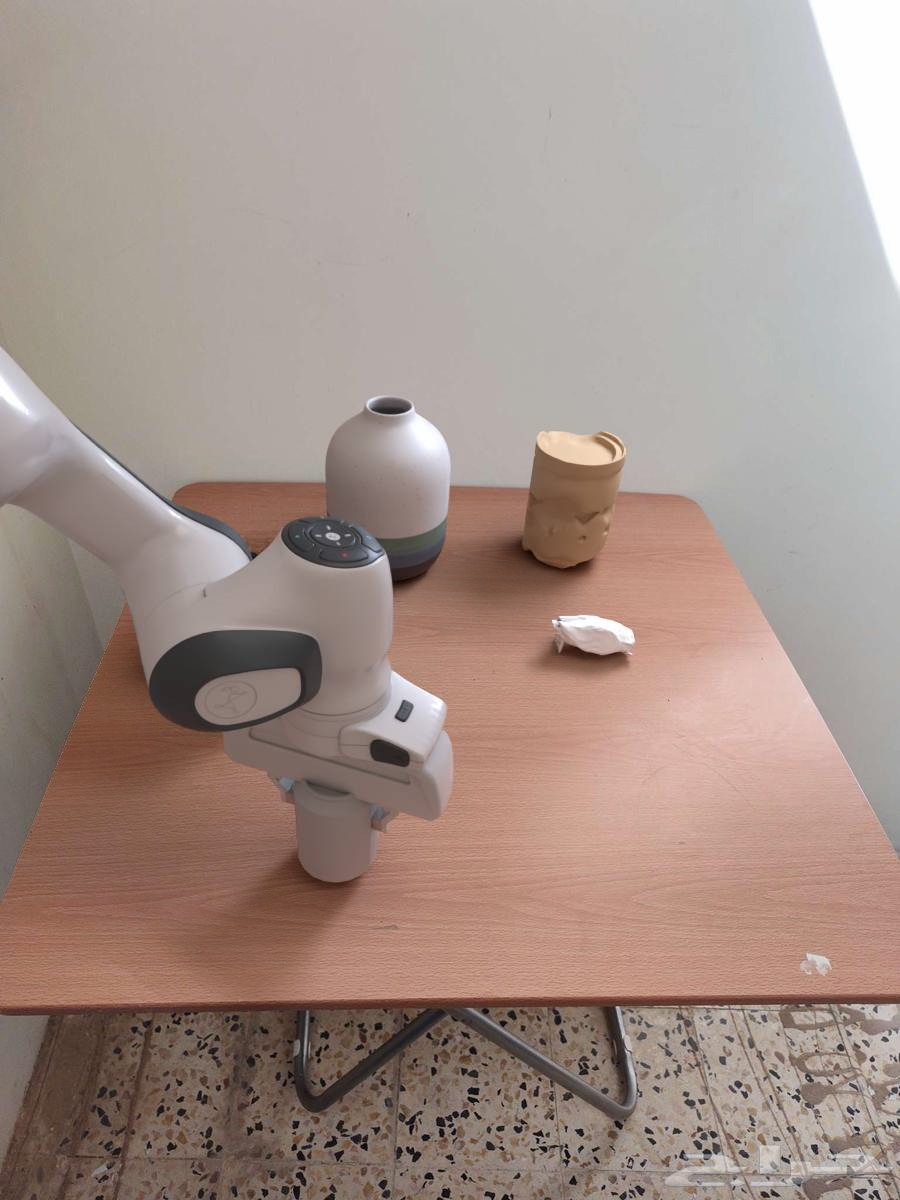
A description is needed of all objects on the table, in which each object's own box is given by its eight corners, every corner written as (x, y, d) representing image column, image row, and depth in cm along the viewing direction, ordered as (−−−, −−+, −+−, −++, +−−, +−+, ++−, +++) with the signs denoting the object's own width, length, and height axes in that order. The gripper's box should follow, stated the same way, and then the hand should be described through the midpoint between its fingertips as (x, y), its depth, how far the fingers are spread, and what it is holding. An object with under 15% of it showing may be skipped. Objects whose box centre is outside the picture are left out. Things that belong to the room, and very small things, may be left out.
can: (330, 809, 81) (328, 725, 73) (392, 844, 78) (396, 760, 71) (281, 862, 75) (273, 777, 68) (345, 902, 72) (345, 818, 65)
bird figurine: (563, 674, 102) (640, 656, 102) (556, 628, 99) (635, 610, 99) (555, 654, 106) (629, 637, 106) (548, 610, 103) (623, 593, 103)
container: (512, 531, 126) (526, 425, 115) (588, 527, 128) (608, 423, 117) (534, 578, 116) (551, 467, 105) (615, 572, 119) (640, 463, 108)
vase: (443, 596, 111) (455, 438, 97) (321, 590, 111) (314, 429, 96) (444, 531, 125) (454, 383, 110) (335, 525, 124) (331, 375, 110)
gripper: (199, 694, 64) (216, 805, 72) (442, 764, 60) (431, 873, 68) (238, 646, 69) (250, 756, 77) (466, 708, 65) (453, 816, 73)
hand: (337, 811), depth 73 cm, fingers closed on can, 7 cm apart
